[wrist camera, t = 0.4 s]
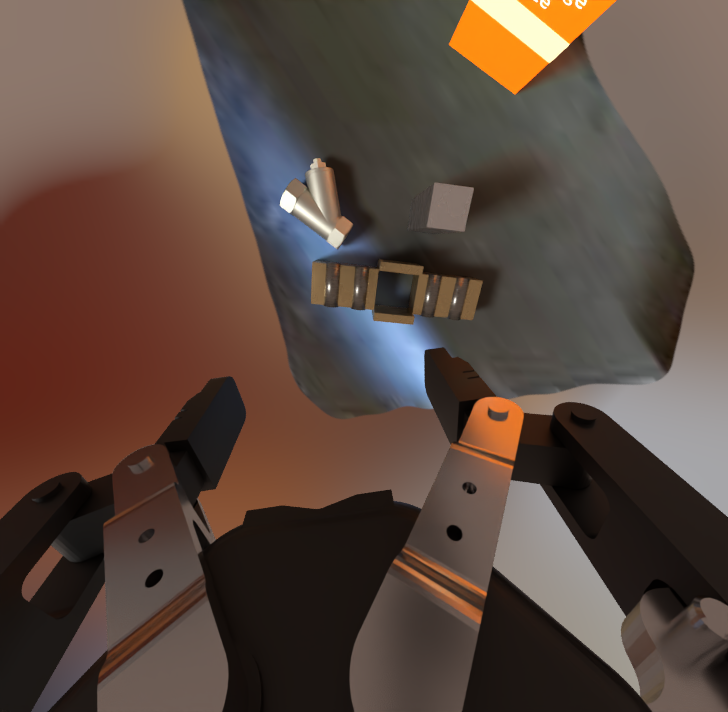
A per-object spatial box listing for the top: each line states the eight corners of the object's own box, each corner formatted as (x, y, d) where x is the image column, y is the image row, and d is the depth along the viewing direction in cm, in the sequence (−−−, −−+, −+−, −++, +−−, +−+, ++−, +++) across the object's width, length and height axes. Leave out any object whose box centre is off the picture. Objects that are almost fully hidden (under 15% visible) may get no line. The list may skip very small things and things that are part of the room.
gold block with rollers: (316, 251, 36) (310, 253, 32) (474, 269, 38) (490, 274, 33) (314, 305, 39) (308, 314, 34) (461, 320, 40) (475, 330, 36)
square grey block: (411, 199, 34) (434, 182, 24) (439, 203, 34) (474, 187, 24) (407, 230, 36) (426, 227, 25) (434, 233, 36) (464, 231, 26)
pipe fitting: (313, 157, 33) (284, 209, 35) (310, 145, 29) (276, 203, 31) (368, 203, 35) (337, 250, 36) (371, 196, 31) (337, 249, 33)
